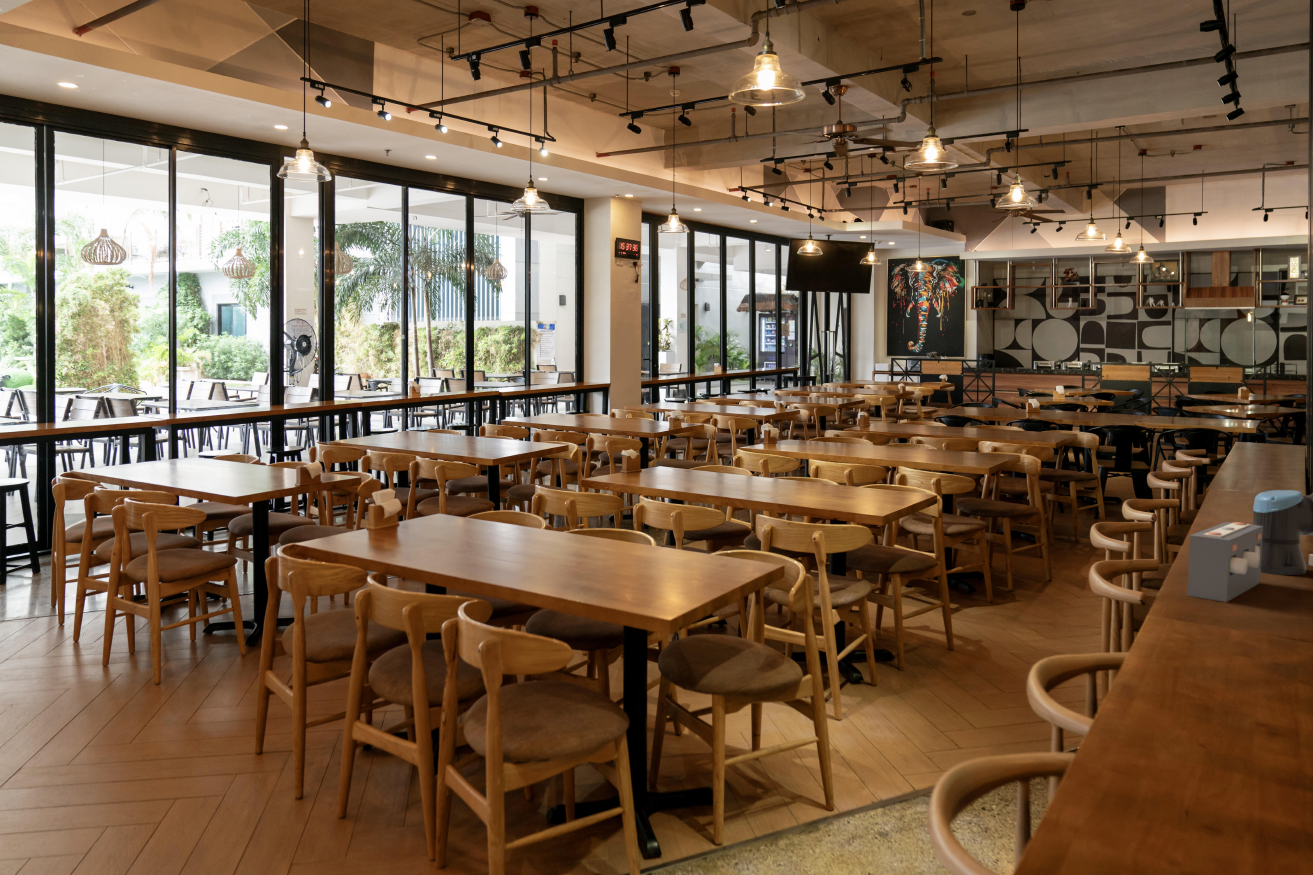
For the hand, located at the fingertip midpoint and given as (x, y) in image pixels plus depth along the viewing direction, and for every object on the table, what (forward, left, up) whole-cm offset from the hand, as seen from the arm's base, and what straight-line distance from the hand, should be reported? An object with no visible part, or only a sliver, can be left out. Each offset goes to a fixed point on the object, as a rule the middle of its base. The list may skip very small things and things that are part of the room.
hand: (1309, 559), depth 236 cm
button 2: (0, -15, -2) cm, 15 cm away
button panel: (+11, -16, -9) cm, 22 cm away
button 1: (+22, -12, -2) cm, 25 cm away
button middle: (+11, -12, -2) cm, 16 cm away
